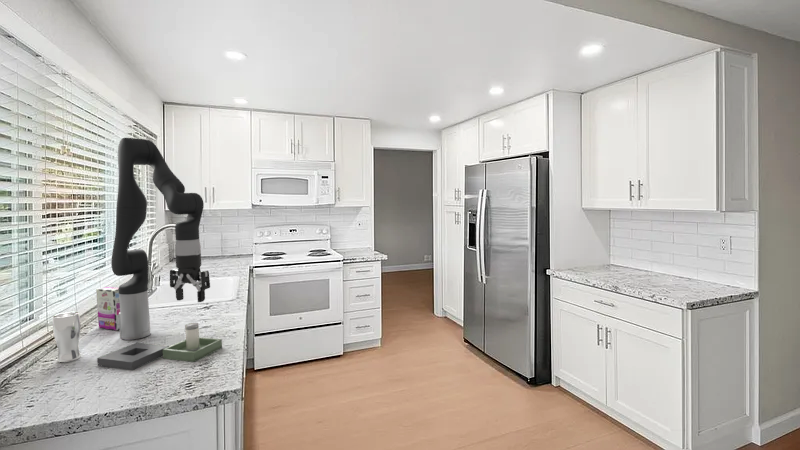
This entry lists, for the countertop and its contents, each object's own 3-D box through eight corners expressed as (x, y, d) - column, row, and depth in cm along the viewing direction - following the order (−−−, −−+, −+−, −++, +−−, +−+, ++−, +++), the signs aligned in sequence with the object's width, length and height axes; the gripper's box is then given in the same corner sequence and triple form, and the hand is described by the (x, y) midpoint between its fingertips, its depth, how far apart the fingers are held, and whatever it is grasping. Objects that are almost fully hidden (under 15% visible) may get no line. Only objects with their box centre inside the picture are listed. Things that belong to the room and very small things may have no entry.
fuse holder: (97, 365, 128) (97, 358, 128) (137, 349, 142) (136, 342, 141) (132, 370, 124) (131, 362, 124) (169, 353, 138) (169, 345, 138)
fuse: (183, 352, 136) (182, 325, 135) (192, 347, 140) (191, 322, 139) (193, 353, 135) (192, 326, 134) (202, 348, 139) (201, 323, 138)
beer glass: (52, 364, 130) (49, 318, 128) (59, 357, 136) (55, 313, 135) (80, 360, 133) (76, 315, 132) (84, 353, 139) (81, 310, 138)
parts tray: (163, 358, 133) (162, 349, 133) (192, 344, 145) (192, 336, 145) (194, 361, 130) (194, 352, 130) (222, 347, 142) (221, 339, 142)
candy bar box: (128, 327, 167) (125, 287, 166) (116, 331, 162) (113, 290, 161) (110, 324, 171) (107, 286, 170) (98, 328, 166) (95, 288, 165)
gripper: (161, 253, 133) (164, 302, 135) (197, 255, 129) (199, 305, 131) (179, 250, 141) (182, 296, 142) (214, 252, 137) (216, 299, 138)
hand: (190, 300), depth 136 cm, fingers open, 8 cm apart
